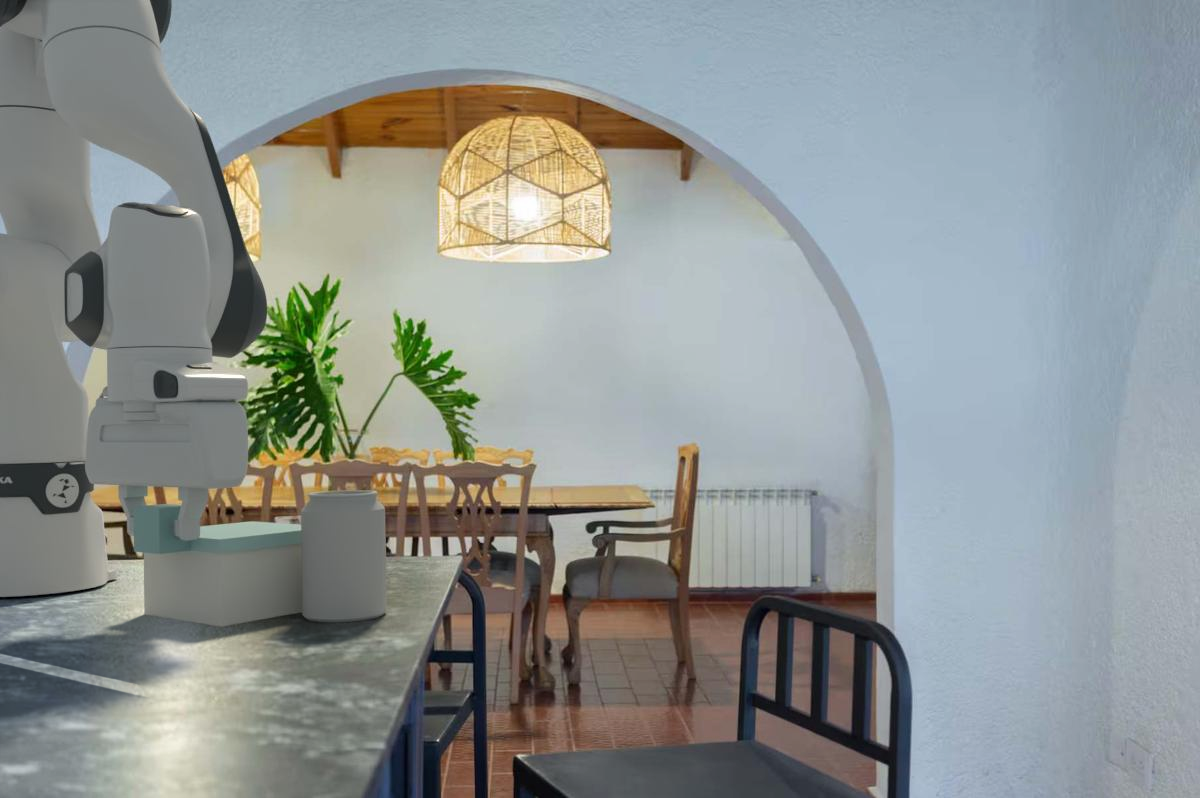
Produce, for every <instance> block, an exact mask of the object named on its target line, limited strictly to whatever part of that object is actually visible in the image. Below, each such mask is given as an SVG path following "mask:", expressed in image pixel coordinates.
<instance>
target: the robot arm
mask: <svg viewBox="0 0 1200 798" xmlns="http://www.w3.org/2000/svg"><path fill="white" fill-rule="evenodd" d="M172 5H173V3H172V0H0V215H1V216H0V217H1V218H2V219H1V220H2V223H3V225H4V228H5V232H6V233H3V232H2V233H0V598H7V597H26V596H39V595H50V594H61V593H68V592H75V591H81V590H86V589H87V590H88V589H91V588H96V587H101V586H104V585H106V584H107V582H108V581H112V580H115V579H118V571H117V569H116V568H114V569H113V568H109V562H108V552H107V541H106V539H107V538H106V530H105V519H104V513H103V511H102V509H101V508H100V507H99V506H98V505H97V504H96V503H95V502H94V500H93V498H92V495H91V493H92V492H93V491H94V489H95V485H102V486H103V485H105V486H106V485H107V486H108V485H109V486H117V488H118V489H117V490H118V493H117V494H118V500H119V502H120V504H121V505H120V506H121V507H122V510H123V513H124V514H125V516H126V532H127V534H128V535H129V536H131V537H134V514H133V507H135V506H147V503H146V502H147V501H146V499H145V497H148V494H149V493H148V489H149V488H148V487H152V488H153V487H156V488H159V487H160V488H177V496H178V497H177V498H178V501H180V502H181V504H180V505H181V508H180V512H179V516H178V519H177V520H173V537H174V538H175V539H176V540H195V539H198V538H199V537H200V526H201V519H202V517H203V514H204V512H205V509H206V506H207V504H208V502H209V499H210V498H209V496H210V493H209V491H210V489H211V490H212V489H227V488H229V489H230V488H238V487H240V486H241V485H242V484H243V483H244V482H243V481H244V480H245V478H246V475H247V474H248V467H249V430H248V429H249V428H248V427H249V426H248V417H247V412H246V410H245V408H244V406H243V405H242V404H241V403H240V402H241V401H245V400H246V399H247V397H248V393H249V392H248V391H249V388H248V386H249V383H248V380H247V377H246V376H244V375H243V374H240V373H238V372H236V371H234V370H232V369H230V368H227V367H225V366H224V365H222V364H221V363H218V362H216V361H213V357H215V358H216V357H217V358H218V357H219V358H226V359H232V358H234V357H236V356H238V355H239V354H241V353H242V352H243V351H245V350H246V349H247V348H248V347H250V346H251V345H252V344H253V343H254V342H255V341H256V340H257V339H258V338H259V337H260V335H261V334H262V333H263V331H264V329H265V327H266V324H267V320H268V319H267V318H268V303H267V302H268V300H267V295H266V291H265V287H264V284H263V280H262V278H261V276H260V274H259V272H258V270H257V268H256V266H255V264H254V263H253V260H252V258H251V256H250V254H249V251H248V249H247V246H246V243H245V240H244V237H243V234H242V231H241V227H240V225H239V220H238V218H237V215H236V212H235V208H234V206H233V202H232V199H231V196H230V193H229V190H228V187H227V186H228V184H227V182H226V179H225V177H224V173H223V172H224V171H223V170H222V167H221V164H220V160H219V157H218V155H217V154H218V153H217V152H216V148H215V146H214V144H213V143H214V142H213V140H212V138H211V135H210V133H209V131H208V128H207V125H206V124H205V122H204V120H203V118H202V117H201V116H200V115H199V114H197V113H196V112H195V111H194V110H192V109H191V108H189V107H188V106H187V104H186V103H185V102H184V101H183V100H182V98H181V96H180V95H179V94H178V92H177V91H176V90H175V88H174V86H173V84H172V83H171V81H170V79H169V77H168V74H167V71H166V70H165V67H164V66H165V65H164V61H163V56H162V49H161V48H162V47H161V44H162V42H163V41H164V39H165V37H166V35H167V34H168V33H167V32H168V29H169V26H170V22H171V18H172V17H171V16H172V7H173V6H172ZM91 143H92V144H93V145H95V146H97V147H100V148H102V149H104V150H107V151H109V152H112V153H114V154H117V155H118V156H121V157H124V158H126V159H128V160H130V161H132V162H134V163H137V164H138V165H140V166H141V167H144V168H145V169H147V170H149V171H150V172H152V173H154V174H155V175H157V177H159V178H161V179H162V180H163V181H165V183H166V184H167V185H169V187H170V188H171V189H172V191H173V192H174V194H175V195H176V198H177V201H178V204H179V206H174V205H164V204H155V203H146V202H145V203H143V202H135V201H133V202H131V201H130V202H122V204H118V205H117V206H115V207H114V208H113V209H112V211H111V214H110V220H109V226H108V227H109V228H108V235H107V237H106V239H105V241H104V242H102V238H101V234H100V231H99V227H98V223H97V218H96V214H95V210H94V204H93V198H92V193H91V192H92V190H91V189H92V188H91ZM79 341H81V342H82V343H84V344H85V345H86V346H88V347H89V348H91V347H93V348H96V349H99V350H105V351H106V366H107V367H106V371H107V372H106V373H107V376H106V377H107V378H106V381H107V386H105V387H104V388H102V392H101V393H100V395H99V397H98V398H96V400H95V406H94V407H93V408H92V409H91V412H90V413H89V395H88V392H87V389H86V388H85V387H84V385H83V384H82V383H81V381H80V380H79V379H78V378H77V376H76V375H75V373H74V372H73V370H72V368H71V366H70V363H69V361H68V358H67V355H66V352H65V351H66V350H65V348H64V345H63V343H73V342H79Z"/></svg>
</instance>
